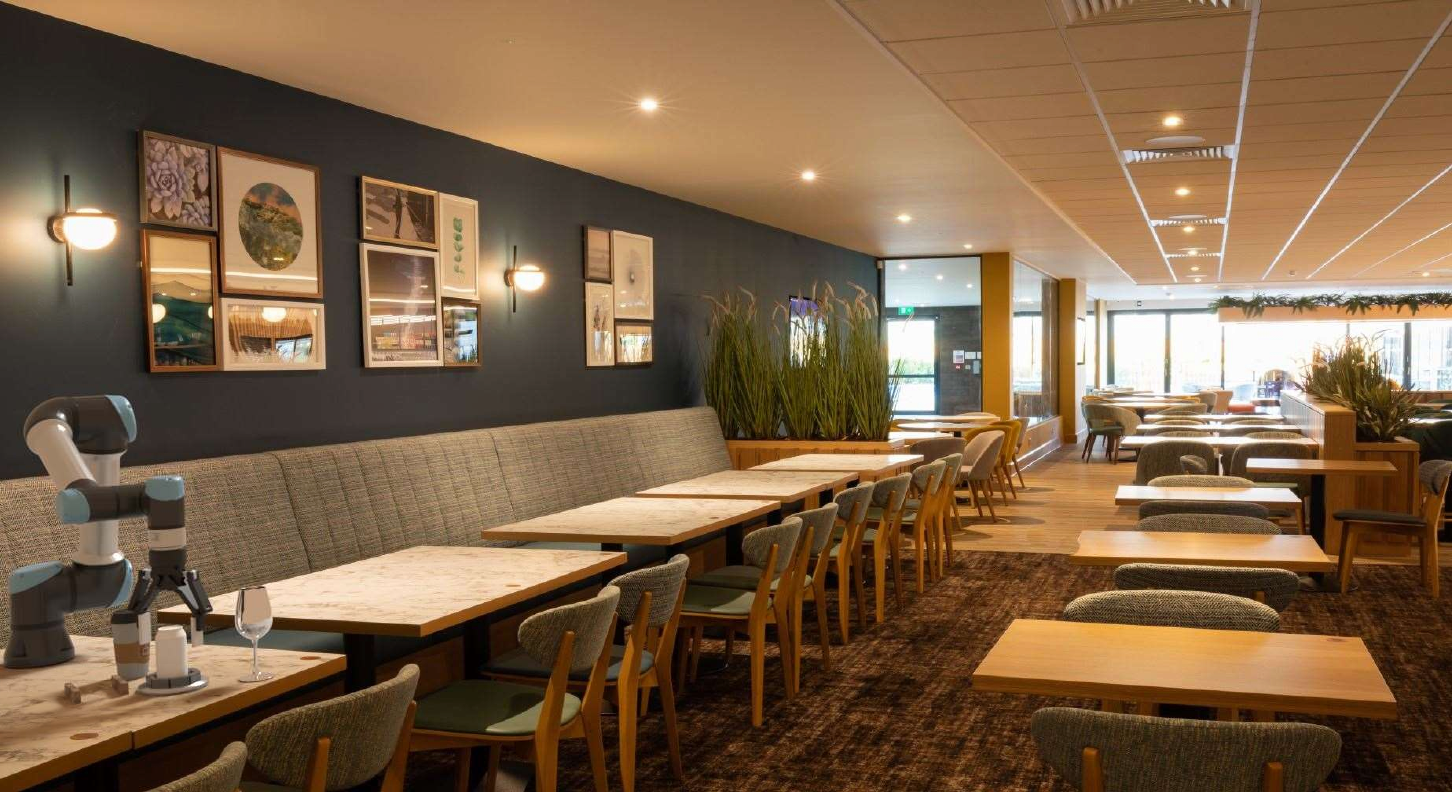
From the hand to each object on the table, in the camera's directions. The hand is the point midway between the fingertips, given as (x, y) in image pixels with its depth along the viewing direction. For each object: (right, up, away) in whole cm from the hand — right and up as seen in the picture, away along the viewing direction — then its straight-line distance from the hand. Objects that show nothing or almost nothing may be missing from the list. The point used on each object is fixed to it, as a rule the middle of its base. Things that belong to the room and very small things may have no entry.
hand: (171, 644), depth 267 cm
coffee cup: (-14, -10, +11) cm, 20 cm away
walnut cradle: (-14, -10, -4) cm, 18 cm away
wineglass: (+16, -9, +6) cm, 19 cm away
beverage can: (0, -8, 0) cm, 8 cm away
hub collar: (+1, -9, 0) cm, 9 cm away
